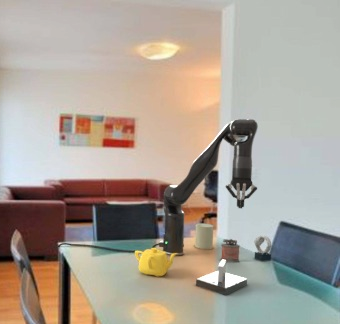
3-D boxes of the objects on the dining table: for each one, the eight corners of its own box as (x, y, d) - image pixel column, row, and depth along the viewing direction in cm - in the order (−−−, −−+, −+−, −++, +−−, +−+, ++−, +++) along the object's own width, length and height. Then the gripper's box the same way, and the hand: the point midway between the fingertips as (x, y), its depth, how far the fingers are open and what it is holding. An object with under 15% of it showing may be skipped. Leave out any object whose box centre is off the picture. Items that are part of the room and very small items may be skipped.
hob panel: (226, 295, 135) (226, 288, 135) (195, 285, 145) (195, 278, 145) (247, 285, 146) (248, 278, 146) (217, 276, 156) (217, 270, 155)
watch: (260, 256, 187) (261, 234, 186) (273, 261, 179) (274, 237, 179) (251, 257, 185) (252, 234, 184) (264, 262, 177) (265, 238, 177)
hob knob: (222, 282, 141) (222, 265, 141) (217, 281, 142) (218, 265, 142) (225, 275, 149) (226, 259, 149) (221, 275, 150) (221, 259, 149)
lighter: (237, 260, 180) (238, 238, 179) (239, 262, 176) (240, 240, 176) (219, 259, 180) (220, 238, 180) (221, 261, 177) (222, 239, 177)
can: (192, 244, 206) (192, 222, 206) (208, 244, 207) (209, 222, 207) (198, 249, 197) (199, 226, 197) (215, 249, 198) (216, 226, 197)
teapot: (162, 267, 166) (163, 243, 166) (177, 277, 154) (178, 251, 153) (133, 269, 162) (133, 245, 162) (146, 279, 150) (147, 253, 149)
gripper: (224, 166, 160) (223, 208, 161) (259, 168, 155) (257, 210, 156) (226, 166, 167) (224, 205, 168) (259, 167, 162) (257, 208, 163)
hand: (240, 208), depth 162 cm, fingers closed
